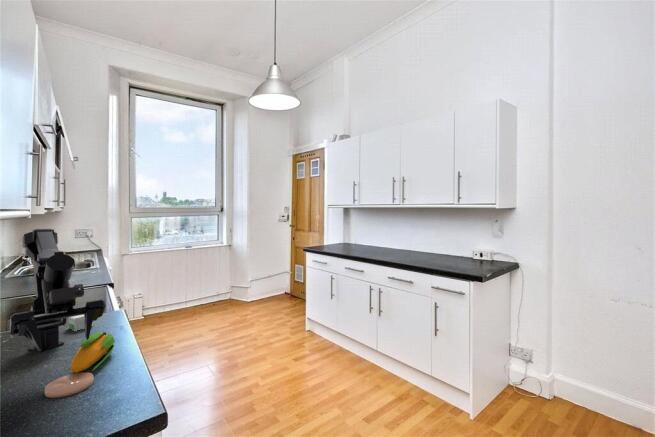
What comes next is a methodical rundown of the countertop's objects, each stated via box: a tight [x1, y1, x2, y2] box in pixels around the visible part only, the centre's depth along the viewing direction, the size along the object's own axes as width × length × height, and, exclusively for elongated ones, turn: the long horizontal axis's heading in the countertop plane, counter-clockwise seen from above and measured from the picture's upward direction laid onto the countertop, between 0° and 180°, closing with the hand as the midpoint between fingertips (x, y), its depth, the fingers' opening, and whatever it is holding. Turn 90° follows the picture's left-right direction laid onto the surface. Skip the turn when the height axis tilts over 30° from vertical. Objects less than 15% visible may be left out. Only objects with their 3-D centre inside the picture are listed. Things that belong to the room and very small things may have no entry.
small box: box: [68, 315, 94, 332], centre depth 114 cm, size 6×6×5 cm
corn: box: [69, 331, 116, 374], centre depth 85 cm, size 7×8×20 cm
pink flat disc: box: [44, 372, 95, 399], centre depth 74 cm, size 9×9×1 cm
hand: (65, 344), depth 78 cm, fingers open, 9 cm apart
